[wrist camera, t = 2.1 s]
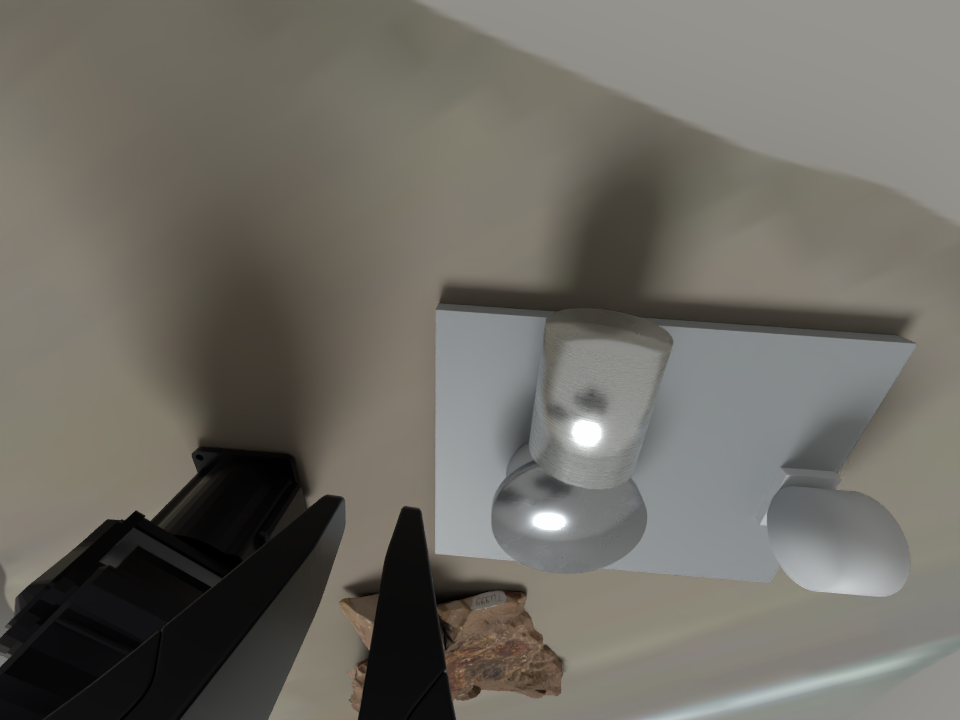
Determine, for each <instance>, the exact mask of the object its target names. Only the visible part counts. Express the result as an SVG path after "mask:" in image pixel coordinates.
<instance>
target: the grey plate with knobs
mask: <svg viewBox="0 0 960 720" xmlns="http://www.w3.org/2000/svg"><path fill="white" fill-rule="evenodd" d="M555 312H557V311H542V310H528V309H514V308H500V307H485V306H471V305H457V304H443V303H439V304H438V306H437V308H436V455H435V554H444V555H455V556H466V557H478V558H489V559H501V560H512V561H516V560H514V559H513V558H512V557H510V556H509V555H508V554H507V553H506V552H505V551H504V550H503V549H502V548H501V547H500V546H499V544H498V543H497V541H496V539H495V537H494V534H493V532H492V526H491V512H492V502H493V498H494V495H495V492H496V490H497V489H498V487H499V485H500V484H501V483H502V482H503V480H504V479H505V478H506V477H507V476H508V475H509V474H510V473H512V472H513V471H514V470H516V469H517V468H519V467H521V466H522V465H524V464H526V463H528V462H531V461H533V460H534V459H533V457H532V455H531V453H530V450H529V438H530V430H531V423H532V416H533V409H534V402H535V394H536V387H537V380H538V373H539V366H540V358H541V351H542V344H543V337H544V330H545V323H546V319H547V318H548V316H550V315H551V314H553V313H555ZM640 318H642V317H640ZM643 319H646V320H648V321H650V322H653V323H655V324H657V325H658V326H660V327H662V328H663V329H665V330H666V331H667V332H668V333H669V334H670V335H671V336H672V338H673V346H672V349H671V352H670V356H669V359H668V362H667V366H666V369H665V372H664V375H663V379H662V382H661V385H660V388H659V392H658V395H657V398H656V402H655V405H654V408H653V411H652V415H651V418H650V421H649V424H648V428H647V431H646V434H645V437H644V441H643V444H642V447H641V451H640V454H639V457H638V460H637V464H636V467H635V470H634V473H633V475H632V476H631V478H632V479H633V481H634V482H635V483H636V485H637V487H638V489H639V491H640V493H641V496H642V498H643V501H644V503H645V506H646V509H647V525H646V529H645V532H644V534H643V536H642V538H641V540H640V541H639V543H638V544H637V545H636V546H635V548H634V549H633V550H632V551H631V552H629V553H628V554H627V555H626V556H624V557H623V558H621V559H620V560H618V561H617V562H615V563H613V564H611V565H608V566H606V567H603V568H604V569H615V570H627V571H638V572H650V573H661V574H673V575H684V576H696V577H707V578H719V579H730V580H741V581H753V582H764V583H770V582H771V580H772V578H773V577H774V575H775V574H776V572H777V570H778V569H779V567H780V566H781V567H782V569H783V570H784V571H785V573H786V574H787V575H788V576H789V577H790V578H791V579H792V580H793V581H794V582H796V583H797V584H798V585H800V586H802V587H803V588H806V589H808V590H812V591H819V592H830V593H842V594H853V595H865V596H876V597H884V596H889V595H892V594H894V593H896V592H898V591H899V590H900V589H901V588H902V587H903V586H904V584H905V583H906V581H907V578H908V576H909V572H910V552H909V547H908V544H907V540H906V538H905V536H904V533H903V531H902V529H901V528H900V526H899V524H898V523H897V521H896V520H895V518H894V517H893V516H892V515H891V513H890V512H889V511H888V510H887V509H886V508H885V507H884V506H883V505H881V504H880V503H879V502H878V501H876V500H875V499H873V498H871V497H870V496H868V495H865V494H863V493H860V492H856V491H845V490H835V489H836V488H837V486H838V485H839V483H840V481H841V480H842V479H841V478H840V477H839V476H838V475H837V473H838V472H839V470H840V468H841V467H842V465H843V464H844V462H845V460H846V459H847V457H848V455H849V454H850V452H851V451H852V449H853V447H854V446H855V444H856V443H857V441H858V439H859V438H860V436H861V434H862V433H863V431H864V430H865V428H866V426H867V425H868V423H869V422H870V420H871V418H872V417H873V415H874V413H875V412H876V410H877V409H878V407H879V405H880V404H881V402H882V400H883V399H884V397H885V396H886V394H887V392H888V391H889V389H890V388H891V386H892V384H893V383H894V381H895V379H896V378H897V376H898V375H899V373H900V371H901V370H902V368H903V367H904V365H905V363H906V362H907V360H908V358H909V357H910V355H911V354H912V352H913V350H914V349H915V347H916V346H917V343H914V342H912V341H910V340H908V339H905V338H903V337H901V336H898V335H884V334H870V333H856V332H841V331H827V330H813V329H799V328H784V327H770V326H756V325H742V324H727V323H713V322H699V321H685V320H671V319H656V318H643Z"/></svg>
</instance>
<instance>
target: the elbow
mask: <svg viewBox="0 0 960 720" xmlns="http://www.w3.org/2000/svg"><path fill="white" fill-rule="evenodd" d="M672 346H673V338H672V336H671V335H670V334H669V333H668V332H667V331H666V330H665V329H663V328H662V327H660V326H658V325H657V324H655V323H653V322H650V321H648V320H646V319H643V318H640V317H637V316H634V315H630V314H626V313H622V312H617V311H612V310H605V309H595V308H574V309H566V310H561V311H558V312H555V313H553V314H551V315H550V316H548V318H547V319H546V323H545V330H544V337H543V344H542V351H541V358H540V366H539V373H538V380H537V387H536V394H535V402H534V409H533V416H532V423H531V430H530V438H529V450H530V453H531V455H532V457H533V459H534V460H533V461H531V462H528V463H526V464H524V465H522V466H521V467H519V468H517V469H516V470H514V471H513V472H512V473H510V474H509V475H508V476H507V477H506V478H505V479H504V480H503V482H502V483H501V484H500V485H499V487H498V489H497V490H496V492H495V495H494V498H493V502H492V512H491V526H492V532H493V534H494V537H495V539H496V541H497V543H498V544H499V546H500V547H501V548H502V549H503V550H504V551H505V552H506V553H507V554H508V555H509V556H510V557H512V558H513V559H514V560H516V561H518V562H520V563H521V564H523V565H526V566H528V567H530V568H533V569H536V570H540V571H544V572H550V573H558V574H575V573H584V572H589V571H594V570H597V569H600V568H603V567H606V566H608V565H611V564H613V563H615V562H617V561H618V560H620V559H621V558H623V557H624V556H626V555H627V554H628V553H629V552H631V551H632V550H633V549H634V548H635V546H636V545H637V544H638V543H639V541H640V540H641V538H642V536H643V534H644V532H645V529H646V525H647V509H646V506H645V503H644V501H643V498H642V496H641V493H640V491H639V489H638V487H637V485H636V483H635V482H634V481H633V479H632V478H631V476H632V475H633V473H634V470H635V467H636V464H637V460H638V457H639V454H640V451H641V447H642V444H643V441H644V437H645V434H646V431H647V428H648V424H649V421H650V418H651V415H652V411H653V408H654V405H655V402H656V398H657V395H658V392H659V388H660V385H661V382H662V379H663V375H664V372H665V369H666V366H667V362H668V359H669V356H670V352H671V349H672Z"/></svg>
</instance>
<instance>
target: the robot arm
mask: <svg viewBox="0 0 960 720" xmlns="http://www.w3.org/2000/svg"><path fill="white" fill-rule="evenodd" d="M192 458H193V461H194V464H195V467H196V469H197V472H198V473H197V475H196V476H195V477H194V478H193V479H192V480H191V481H190V482H189V483H188V484H187V485H186V486H185V487H184V488H183V489H182V490H181V491H180V492H179V493H178V494H177V495H176V496H175V497H174V498H173V499H172V500H171V501H170V502H169V503H168V504H167V505H166V506H165V507H164V508H163V509H162V510H161V511H160V512H159V513H158V514H157V515H156V516H155V517H154V518H153V519H152V520H151V521H149V520H147V519H146V518H144V517H145V515H143V514H142V513H140V512H138V511H135V512H134V513H132V514H131V515H130V516H129V517H128V518H127V519H126V520H125V521H124V520H123V519H122V520H110V519H107V520H106V521H105V522H104V523H103V524H102V525H100V526H99V527H98V528H97V529H96V530H95V531H94V532H93V533H92V534H90V535H89V536H88V537H87V538H86V539H85V540H84V541H83V542H81V543H80V544H79V545H78V546H77V547H76V548H75V549H73V550H72V551H71V552H70V553H68V554H67V555H66V556H65V557H63V558H62V559H61V560H60V561H58V562H57V563H56V564H55V565H54V566H52V567H51V568H50V569H49V570H47V571H46V572H45V573H44V574H42V575H41V576H40V577H39V578H37V579H36V580H35V581H34V582H32V583H31V584H30V585H29V586H28V587H27V588H25V589H24V590H23V591H22V592H21V593H20V594H19V595H18V596H17V597H16V599H15V611H14V618H13V619H12V620H11V621H10V622H9V623H8V624H7V625H6V626H5V628H8V629H9V630H8V631H7V632H6V633H5V634H4V635H3V636H2V637H1V638H0V655H1V656H4V657H6V658H8V660H7V661H6V662H5V663H4V664H3V665H2V666H1V667H0V720H268V718H269V716H270V714H271V712H272V709H273V707H274V705H275V703H276V701H277V698H278V696H279V694H280V692H281V689H282V687H283V685H284V683H285V681H286V678H287V676H288V674H289V672H290V670H291V667H292V665H293V663H294V661H295V658H296V656H297V654H298V652H299V650H300V647H301V645H302V643H303V641H304V638H305V636H306V634H307V632H308V630H309V627H310V625H311V623H312V621H313V618H314V616H315V614H316V611H317V609H318V607H319V604H320V601H321V599H322V596H323V593H324V590H325V587H326V584H327V581H328V578H329V575H330V572H331V569H332V566H333V563H334V560H335V557H336V554H337V551H338V548H339V545H340V542H341V539H342V536H343V533H344V529H345V522H346V520H345V499H344V498H343V497H341V496H335V495H325V496H323V497H322V498H321V499H319V500H318V501H317V502H316V503H314V504H313V505H312V506H311V507H309V508H308V509H307V510H306V506H305V501H304V496H303V491H302V487H301V485H300V483H299V478H298V473H297V468H296V464H295V460H294V458H293V457H292V456H290V455H288V454H279V453H266V452H254V451H242V450H229V449H217V448H205V447H199V448H197V449H196V450H195V451H194V452H193V453H192ZM446 670H447V666H446V660H445V654H444V648H443V642H442V635H441V629H440V623H439V617H438V611H437V605H436V599H435V592H434V586H433V580H432V574H431V568H430V562H429V556H428V549H427V543H426V537H425V531H424V525H423V519H422V513H421V510H420V509H419V508H415V507H409V506H404V507H403V508H402V509H401V512H400V515H399V518H398V521H397V524H396V527H395V529H394V532H393V535H392V538H391V541H390V544H389V547H388V550H387V553H386V557H385V561H384V566H383V572H382V578H381V584H380V590H379V596H378V602H377V608H376V614H375V620H374V626H373V632H372V638H371V644H370V650H369V656H368V662H367V668H366V674H365V680H364V686H363V692H362V698H361V704H360V710H359V716H358V720H456V717H455V712H454V706H453V701H452V696H451V690H450V683H449V677H448V673H447V672H446Z"/></svg>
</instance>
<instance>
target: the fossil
mask: <svg viewBox="0 0 960 720" xmlns="http://www.w3.org/2000/svg"><path fill="white" fill-rule="evenodd" d="M378 596H379V594H375V595H371V596H365V597H360V598H347V599H346V598H345V599H342V600H341V601H340V602H339V604H340V606H341V609H342V611H343V612H344V614H345V615H346V616H347V618H348V619H349V620H350V622H351V623H352V624H353V626H354V628H355V630H356V631H357V632H358V634H359V635H360V637H361V639H362V641H363V643H364V644H365V645H366V647H367V648H368V649H369V650H370V644H371V638H372V632H373V626H374V620H375V614H376V608H377V602H378ZM525 601H526V594H524V593H523V592H512V591H505V590H496V591H492V592H486V593H482V594H479V595H475V596H472V597H468V598H464V599H461V600H458V601H449V602H446V603H442V604H437V611H438V617H439V623H440V629H441V635H442V642H443V648H444V654H445V660H446V666H447V670H446V672H447V673H448V677H449V683H450V690H451V696H452V700H469V699H471V698H474V697H476V696H477V695H478V694H479V693H480V691H481V689H482V690H493V691H512V692H517V693H521V694H524V695H527V696H529V697H531V698H541V697H543V696H544V695H554V696H558V695H559V694H560V693H561V679H562V675H563V673H562V662H560V661H559V659H558V657H557V655H556V654H555V653H554V652H553V651H552V650H551V649H549V648H547V647H545V646H544V645H543V642H542V641H543V638H542V635H541V634H539V633H537V632H536V631H535V629H534V627H533V623H532V620H531V617H530V616H529V615H528V613H526V612H525V611H524V605H525ZM367 662H368V659H366V660H364V661H361V662H359V663H358V664H356V665H355V668H354V669H353V670H352V671H348V673H349V675H350V676H351V677H352V678H353V679H354V680H353V683H352V688H353V690H354V691H353V694H352V695H351V698H350V699H349V701H350V702H351V703H352V707H353V709H354V710H356V711H357V712H359V710H360V704H361V698H362V692H363V686H364V680H365V674H366V668H367Z"/></svg>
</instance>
